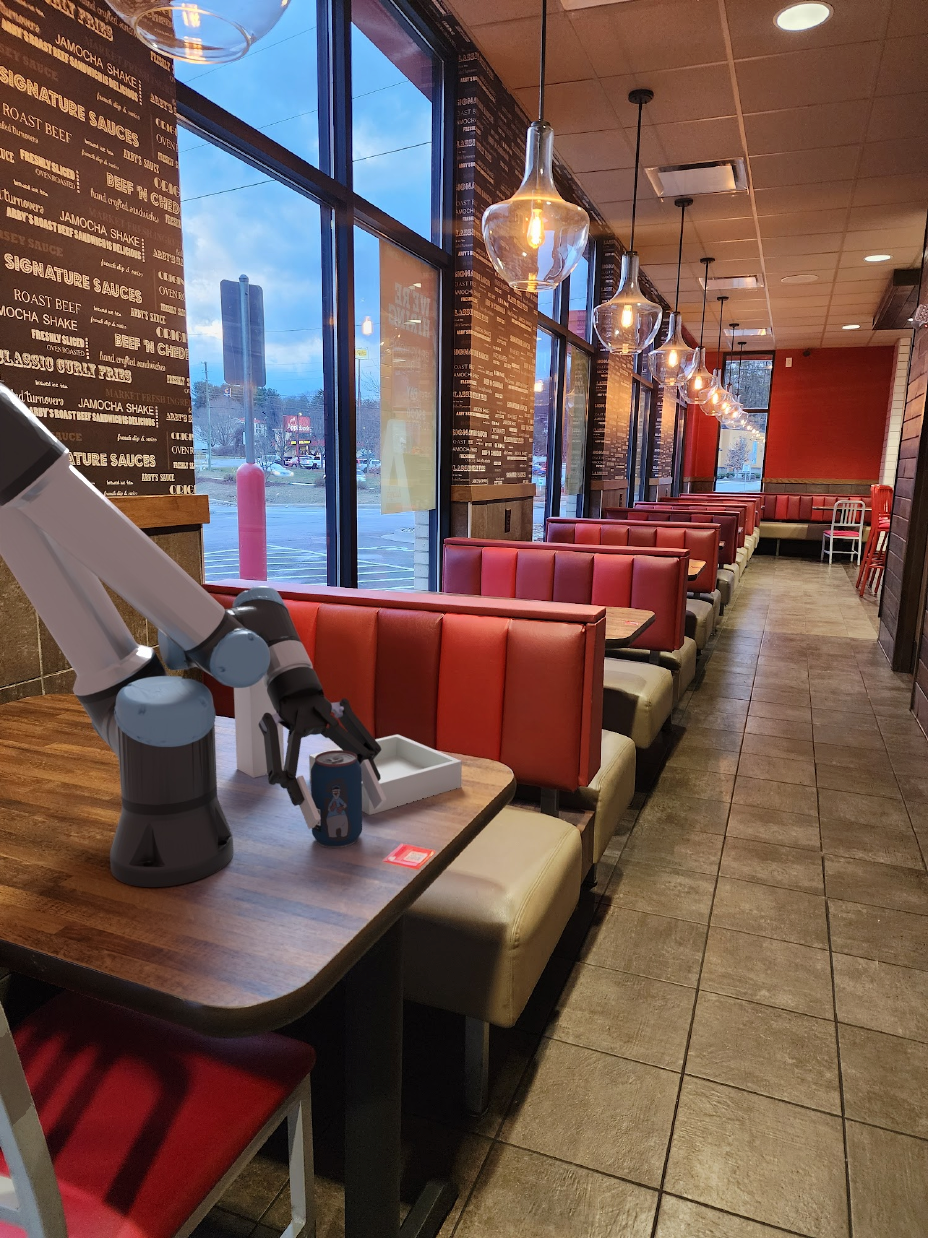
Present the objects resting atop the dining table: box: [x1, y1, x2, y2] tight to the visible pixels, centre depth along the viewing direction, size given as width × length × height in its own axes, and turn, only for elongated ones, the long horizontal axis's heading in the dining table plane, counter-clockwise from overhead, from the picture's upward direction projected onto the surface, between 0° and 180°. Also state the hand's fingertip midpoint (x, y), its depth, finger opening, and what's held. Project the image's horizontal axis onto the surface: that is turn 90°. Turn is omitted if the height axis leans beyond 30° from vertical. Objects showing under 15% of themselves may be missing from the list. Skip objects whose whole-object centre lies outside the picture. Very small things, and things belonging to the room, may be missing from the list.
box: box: [308, 734, 463, 816], centre depth 131 cm, size 18×18×4 cm
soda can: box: [310, 750, 363, 849], centre depth 110 cm, size 7×7×12 cm
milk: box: [233, 679, 285, 779], centre depth 136 cm, size 6×6×22 cm
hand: (348, 814), depth 108 cm, fingers open, 10 cm apart
